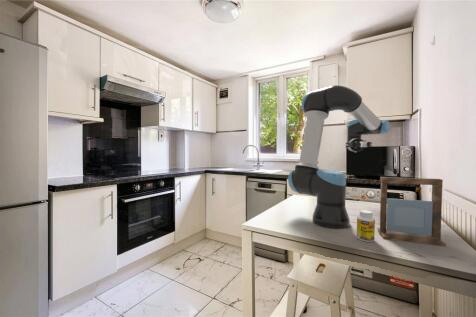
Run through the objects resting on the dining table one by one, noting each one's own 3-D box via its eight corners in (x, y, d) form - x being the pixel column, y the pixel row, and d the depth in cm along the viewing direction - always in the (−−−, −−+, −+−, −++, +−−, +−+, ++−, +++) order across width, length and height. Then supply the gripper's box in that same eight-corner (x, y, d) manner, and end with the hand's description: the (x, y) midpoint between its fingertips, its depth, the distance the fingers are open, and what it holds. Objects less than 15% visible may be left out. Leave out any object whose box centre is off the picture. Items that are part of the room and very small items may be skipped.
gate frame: (382, 238, 78) (384, 178, 77) (377, 230, 85) (378, 175, 84) (445, 246, 71) (447, 180, 70) (433, 237, 79) (435, 177, 78)
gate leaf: (387, 230, 80) (388, 199, 79) (386, 229, 81) (387, 198, 81) (431, 235, 75) (432, 202, 74) (429, 234, 76) (430, 201, 76)
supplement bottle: (358, 241, 75) (359, 213, 75) (355, 235, 81) (355, 208, 80) (376, 243, 74) (377, 214, 73) (371, 237, 79) (372, 210, 78)
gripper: (369, 151, 121) (380, 152, 99) (343, 151, 126) (348, 152, 104) (369, 138, 121) (380, 135, 99) (343, 138, 126) (348, 136, 104)
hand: (364, 144), depth 102 cm, fingers closed
